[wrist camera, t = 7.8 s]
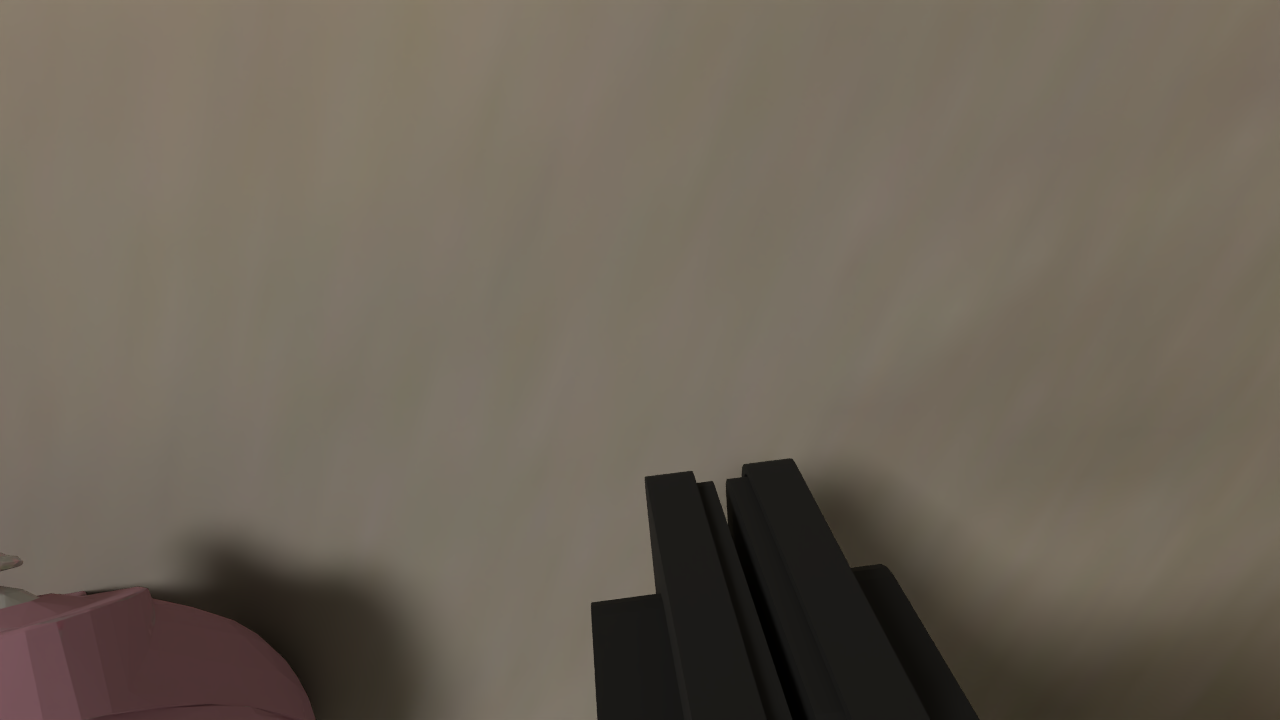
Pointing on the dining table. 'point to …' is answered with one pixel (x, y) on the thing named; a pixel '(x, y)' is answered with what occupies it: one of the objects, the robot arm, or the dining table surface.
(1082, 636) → the dining table surface
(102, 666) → the video game controller
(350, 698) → the dining table surface
